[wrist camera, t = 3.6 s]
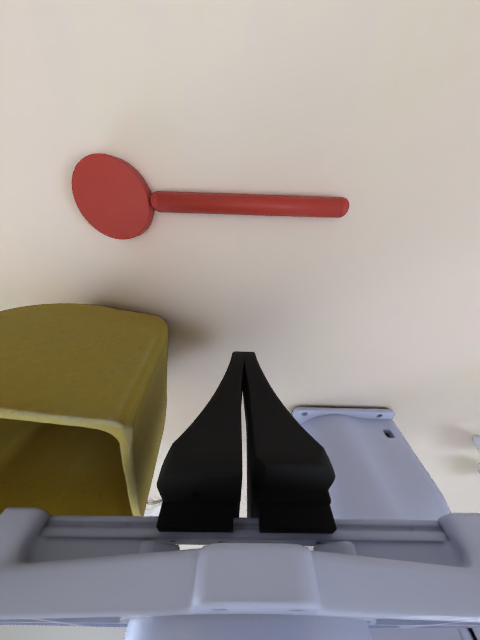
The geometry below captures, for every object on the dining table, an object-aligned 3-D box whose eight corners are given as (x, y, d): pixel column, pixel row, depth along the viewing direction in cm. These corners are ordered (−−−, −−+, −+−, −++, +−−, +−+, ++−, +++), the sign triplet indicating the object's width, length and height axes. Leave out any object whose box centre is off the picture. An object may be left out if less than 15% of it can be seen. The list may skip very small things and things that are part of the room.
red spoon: (355, 164, 10) (365, 161, 9) (334, 243, 12) (341, 247, 11) (69, 154, 10) (53, 150, 9) (95, 236, 11) (85, 239, 11)
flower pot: (49, 268, 12) (-266, 386, 5) (192, 294, 13) (126, 430, 6) (79, 370, 17) (-56, 515, 9) (185, 384, 18) (142, 528, 10)
